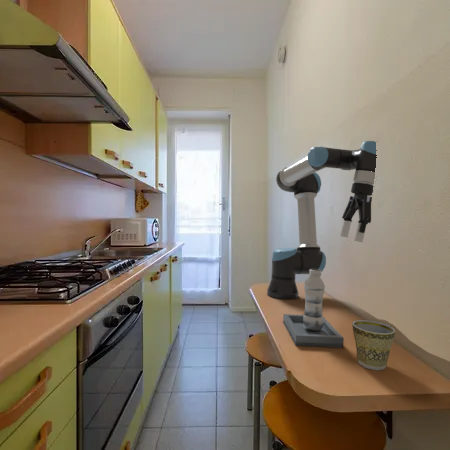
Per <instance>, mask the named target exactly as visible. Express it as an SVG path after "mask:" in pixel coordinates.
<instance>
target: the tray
mask: <svg viewBox="0 0 450 450" xmlns="http://www.w3.org/2000/svg"><path fill="white" fill-rule="evenodd" d="M303 316H304V314H288V313H284V314H283V317H282V318H283V321H282V323H283V325H284V326H285V329H286V330H287V332H288V334H289V336H290V338H291V340H292V341H293V344H294V345H295V347H296V346H297V347H298V346H299V347H317V348H318V347H319V348H320V347H321V348H335V349H336V348H337V349H338V348H339V349H340V348H342V349H343V348H344V340H345V339H344V338H345V337H344V336H343V335H341V333H339V331H338V330H337V329H336V328H335V327H334V326H333V325H332V324H331V323H330V322H329V321H328V320H327V319H326V318H325V317H324V316H323V322H324V324H323V328H322V329H321V330H320V331H312V330H308V329H306V328H305V327H304V326H303Z"/></svg>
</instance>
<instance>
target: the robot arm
mask: <svg viewBox="0 0 450 450" xmlns="http://www.w3.org/2000/svg"><path fill="white" fill-rule="evenodd" d="M376 142H377V141H376ZM376 142H375V140H364V141H363V142H362V143H361V145H360V149H354V150H352V149H350V150H349V149H340V148H332V147H325V146H313V147H311V148H310V149H309V151H308V153H307V156H306V157H304V158H303V159H300V160H299V161H298V162H297V161H296V163H294V164H292V165H291V166H289V167H288V166H286V167H284V168H282V169H280V170H279V171H278V172H277V174H276V178H275V179H276V185H277V186H278V188H280V190H282V191H284V192H287V193H293V194H294V195H293V197H294V199H296V200H297V201H296V203H297V219H298V220H297V221H298V237H299V238H298V242H299V245H298V246H297V247H296V248H295V247H281V248H276V249H274V250H273V251H272V255H271V256H272V257H271V279H270V282H269V285H268V287H267V290H266V291H267V292H266V295H267V294H268V295H267V296H269V297H271V298H275V299H281V300H294V299H297V298H299V290H298V286H297V282H296V275H309V270H310V269H320V270H321V273H322V272H323V271H324V269H325V268H326V266H327V257H326V254H325V253H324V251H322V250H321V246H320V245H318V241H317V225H316V224H317V223H316V220H317V219H316V205H315V198H316V197H317V196H318V194H319V192H320V190H321V187H322V180H321V176H320V175H319V174H318V173H317V172H319V171H322V170H323V169H325V168H328V169H329V168H330V169H340V170H343V171H352V170H355V171H354V174H353V180H352V181H353V183H352V185H351V189H350V192H351V193H352V194H353V195H354V196H352V195H351V196H349V199H348V203H347V205H346V207H345V209H344V212H343V214H342V217H341V219H343V223H342V227H341V232H340V237H342V238H349V234H350V230H351V229H350V228H351V225H352V222H353V220H352V218H353V217H354V216H355V214H356V212H357V211H358V219H359V220H358V221H357V227H356V231H355V236H354V239H353V240H354V242H358V243H363V241H364V237H365V233H366V229H367V225H368V224H371V222H372V199H373V197H372V196H373V194H372V193H374V190H373V187H374V188H375V186H374V185H375V184H374V179H375V168H376V158H377V157H376V156H377V155H376V151H377V150H376ZM371 171H372V172H371ZM373 184H374V185H373Z"/></svg>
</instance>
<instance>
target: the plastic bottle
mask: <svg viewBox="0 0 450 450" xmlns="http://www.w3.org/2000/svg"><path fill="white" fill-rule="evenodd" d="M308 275H309V276H308V277H307V279H306V280H305V281H304V284H303V285H304V286H303V287H304V288H303V290H304V300H305V301H304V303H305V304H304V311H303V315H304V316H303V326H304V327H305V328H306V329H308V330H312V331H320V330H321V329H322V328H323V324H324V322H323V317H324V316H323V302H324V301H323V300H324V299H323V298H324V293H325V287H326V286H325V283H324V281H323V279H322V278H321V276H322V272H321V270H320V269H310V270H309V274H308Z"/></svg>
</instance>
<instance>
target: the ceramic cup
mask: <svg viewBox="0 0 450 450" xmlns="http://www.w3.org/2000/svg"><path fill="white" fill-rule="evenodd" d="M352 333H353V337H354V342H355V348H356V358H357V363H358V365H359V364H360V366H361V365H362V366H361V367H363V368H364V369H368V370H372V371H382V370H385V369H386V367H387V363H388V359H389V357H390V353H391V348H392V346H393V342H394V339H395V333H396V329H395V328H394V326H392V325H391V326H390V325H389V324H386V323H382V322H378V321H374V320H368V319H367V320H363V319H360V320H359V319H358V320H355V321H353V322H352Z"/></svg>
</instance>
